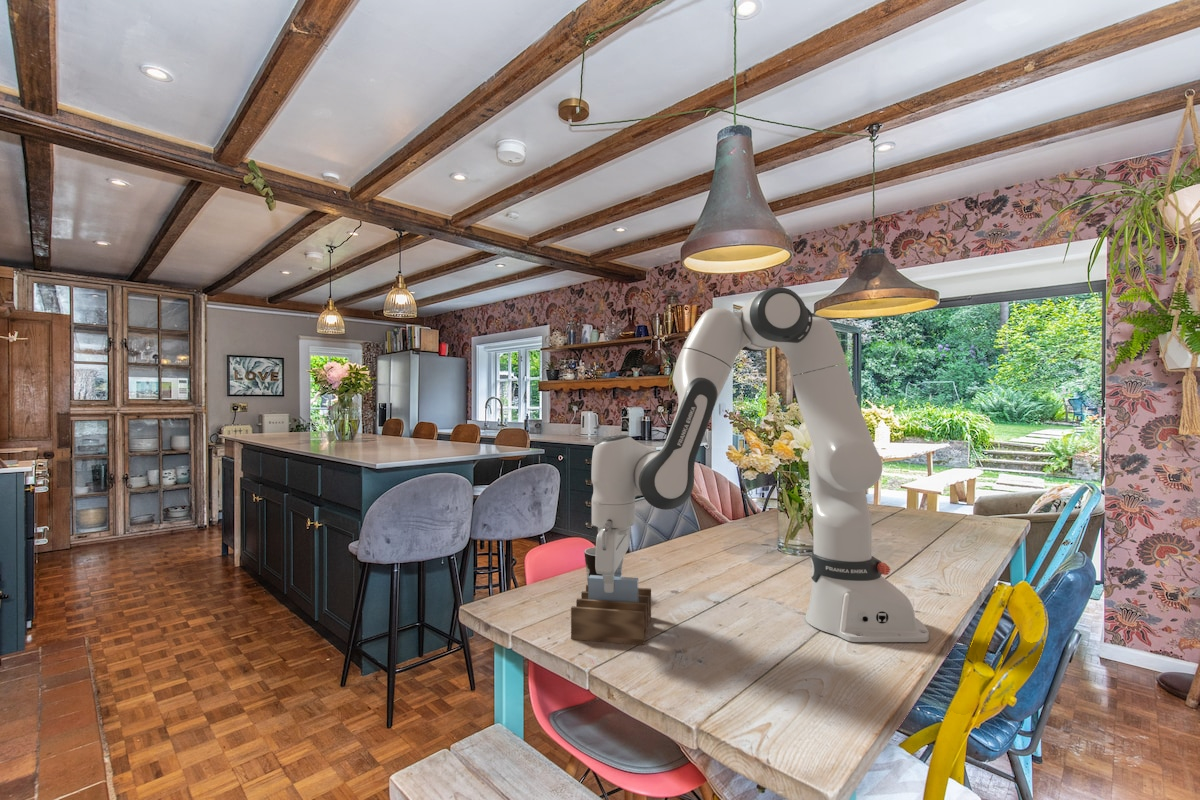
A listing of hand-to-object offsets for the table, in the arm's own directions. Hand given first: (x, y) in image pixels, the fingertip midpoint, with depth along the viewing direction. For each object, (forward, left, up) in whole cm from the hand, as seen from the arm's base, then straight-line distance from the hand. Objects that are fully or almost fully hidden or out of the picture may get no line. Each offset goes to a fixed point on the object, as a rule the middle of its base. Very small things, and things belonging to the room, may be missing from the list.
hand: (613, 583), depth 112 cm
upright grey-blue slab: (0, 0, -8) cm, 8 cm away
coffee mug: (+6, -21, -9) cm, 24 cm away
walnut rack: (0, 0, -9) cm, 9 cm away
